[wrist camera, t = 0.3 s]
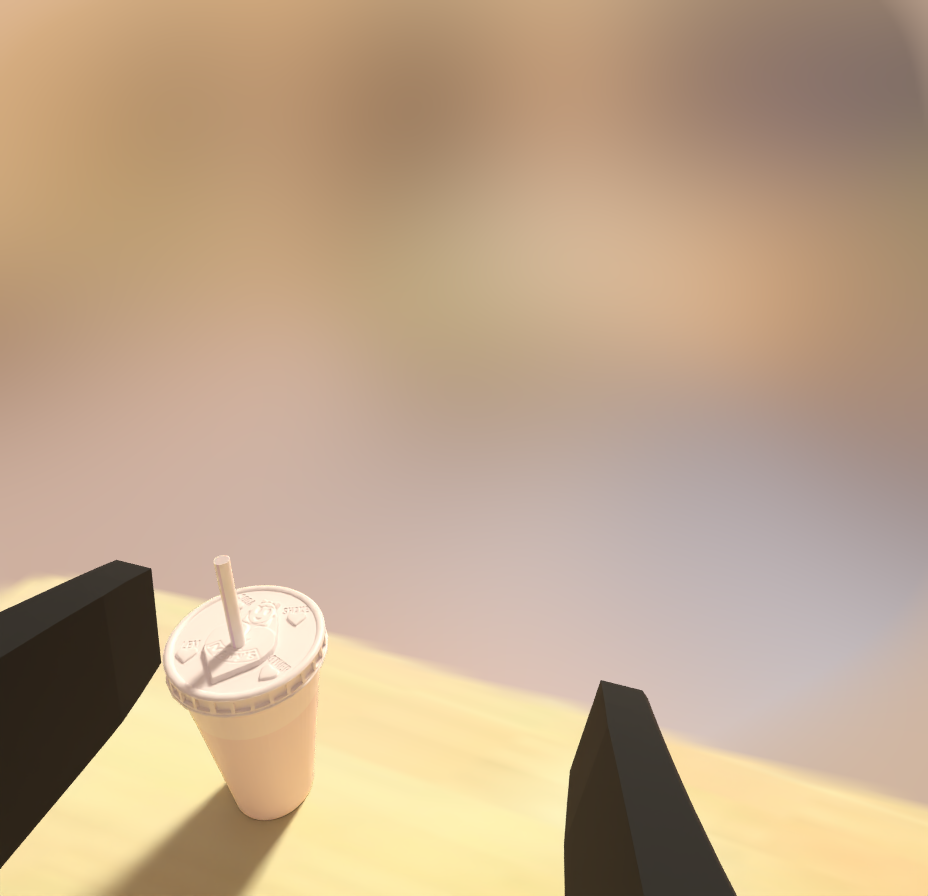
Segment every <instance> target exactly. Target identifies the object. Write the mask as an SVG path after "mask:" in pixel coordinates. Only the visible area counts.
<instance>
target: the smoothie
mask: <svg viewBox="0 0 928 896" xmlns="http://www.w3.org/2000/svg"><path fill="white" fill-rule="evenodd" d="M214 566H215V570H216V575H217V580H218V585H219V590H220V594H221V595H218V596H216V597H214V598H212V599H210V600H208V601H206V602H204V603H203V604H201V605H200V606H198V607H197V608H195V609H194V610H193V611H191V612H190V613H189V614H188V615H187V616H185V617H184V618H183V619H182V620H181V621H180V622H179V624H178V625H177V626H176V627H175V628H174V630H173V631H172V633H171V634H170V636H169V638H168V640H167V643H166V645H165V648H164V653H163V666H164V670H165V674H166V684H167V686H168V688H169V690H170V692H171V695H172V697H173V698H174V699H175V700H176V701H177V702H179V703H180V704H181V705H182V706H183V707H184V708H185V709H187V710H189V712H190V714H191V716H192V718H193V720H194V721H195V723H196V725H197V727H198V729H199V731H200V733H201V735H202V737H203V738H204V740H205V742H206V744H207V746H208V748H209V750H210V752H211V754H212V756H213V758H214V760H215V762H216V764H217V766H218V768H219V770H220V772H221V774H222V776H223V778H224V780H225V782H226V784H227V786H228V788H229V790H230V792H231V793H232V795H233V797H234V799H235V801H236V803H237V805H238V807H239V809H240V810H241V811H242V812H243V813H244V814H245V815H247V816H249V817H251V818H253V819H257V820H272V819H277V818H280V817H282V816H285V815H287V814H288V813H290V812H292V811H293V810H294V809H296V808H297V807H298V806H299V805H300V804H301V803H302V802H303V801H304V800H305V798H306V797H307V795H308V794H309V792H310V790H311V787H312V784H313V779H314V763H315V744H316V726H317V707H318V688H319V673H320V668H321V666H322V664H323V661H324V659H325V656H326V654H327V649H328V634H327V631H326V629H325V622H324V618H323V614H322V612H321V610H320V608H319V607H318V606H317V604H316V603H315V602H314V601H313V600H312V599H310V598H309V597H308V596H306V595H304V594H303V593H301V592H298V591H296V590H293V589H290V588H286V587H280V586H271V585H263V586H251V587H244V588H240V589H235V584H234V579H233V574H232V568H231V564H230V558H229V557H228V556H226V555H222V556H218V557H216V558H215V559H214Z"/></svg>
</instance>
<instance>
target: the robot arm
mask: <svg viewBox="0 0 928 896" xmlns="http://www.w3.org/2000/svg"><path fill="white" fill-rule="evenodd" d="M160 664H161V657H160V647H159V638H158V628H157V618H156V609H155V599H154V590H153V581H152V571H151V568H147V567H143V566H139V565H135V564H131V563H127V562H123V561H118V560H115V561H113V562H110V563H108V564H106V565H103V566H101V567H98V568H96V569H94V570H91V571H89V572H87V573H84V574H82V575H80V576H78V577H76V578H73V579H71V580H69V581H67V582H65V583H62V584H60V585H58V586H56V587H54V588H51V589H49V590H47V591H45V592H43V593H41V594H38V595H36V596H34V597H32V598H30V599H28V600H25V601H23V602H21V603H19V604H17V605H15V606H12V607H10V608H8V609H6V610H4V611H1V612H0V869H1V867H2V866H3V865H4V864H5V862H6V861H7V860H8V859H9V858H10V856H11V855H12V854H13V853H14V852H15V850H16V849H17V848H18V847H19V846H20V845H21V843H22V842H23V841H24V840H25V839H26V837H27V836H28V835H29V834H30V833H31V831H32V830H33V829H34V828H35V827H36V825H37V824H38V823H39V822H40V821H41V820H42V818H43V817H44V816H45V815H46V814H47V812H48V811H49V810H50V809H51V808H52V806H53V805H54V804H55V803H56V802H57V800H58V799H59V798H60V797H61V796H62V794H63V793H64V792H65V791H66V790H67V789H68V787H69V786H70V785H71V784H72V783H73V781H74V780H75V779H76V778H77V777H78V775H79V774H80V773H81V772H82V771H83V769H84V768H85V767H86V766H87V765H88V763H89V762H90V761H91V760H92V759H93V757H94V756H95V755H96V754H97V753H98V751H99V750H100V749H101V748H102V746H103V745H104V744H105V743H106V742H107V740H108V739H109V738H110V737H111V736H112V734H113V733H114V732H115V731H116V729H117V728H118V727H119V726H120V724H121V723H122V722H123V720H124V719H125V717H126V716H127V714H128V713H129V712H130V710H131V709H132V707H133V706H134V704H135V703H136V701H137V700H138V698H139V697H140V695H141V694H142V692H143V691H144V689H145V687H146V686H147V684H148V683H149V681H150V680H151V678H152V676H153V675H154V673H155V672H156V670H157V668H158V667H159V665H160ZM564 875H565V896H737V895H736V893H735V891H734V889H733V887H732V885H731V883H730V881H729V879H728V877H727V875H726V874H725V872H724V870H723V868H722V866H721V864H720V862H719V860H718V857H717V855H716V853H715V851H714V849H713V847H712V845H711V843H710V841H709V839H708V837H707V835H706V832H705V830H704V828H703V826H702V824H701V822H700V820H699V818H698V816H697V814H696V812H695V810H694V807H693V805H692V803H691V801H690V799H689V796H688V794H687V792H686V790H685V788H684V785H683V783H682V781H681V778H680V776H679V774H678V772H677V769H676V767H675V765H674V762H673V760H672V758H671V755H670V753H669V751H668V748H667V746H666V744H665V741H664V739H663V736H662V734H661V731H660V729H659V726H658V724H657V721H656V719H655V717H654V714H653V711H652V709H651V706H650V703H649V701H648V698H647V697H646V695H645V694H644V692H643V691H642V690H638V689H634V688H630V687H626V686H622V685H618V684H614V683H610V682H606V681H602V680H601V681H600V684H599V687H598V690H597V693H596V696H595V699H594V702H593V705H592V708H591V711H590V714H589V717H588V719H587V722H586V725H585V728H584V731H583V734H582V737H581V740H580V743H579V746H578V749H577V752H576V755H575V758H574V761H573V764H572V766H571V769H570V776H569V788H568V800H567V812H566V825H565V839H564Z"/></svg>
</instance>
